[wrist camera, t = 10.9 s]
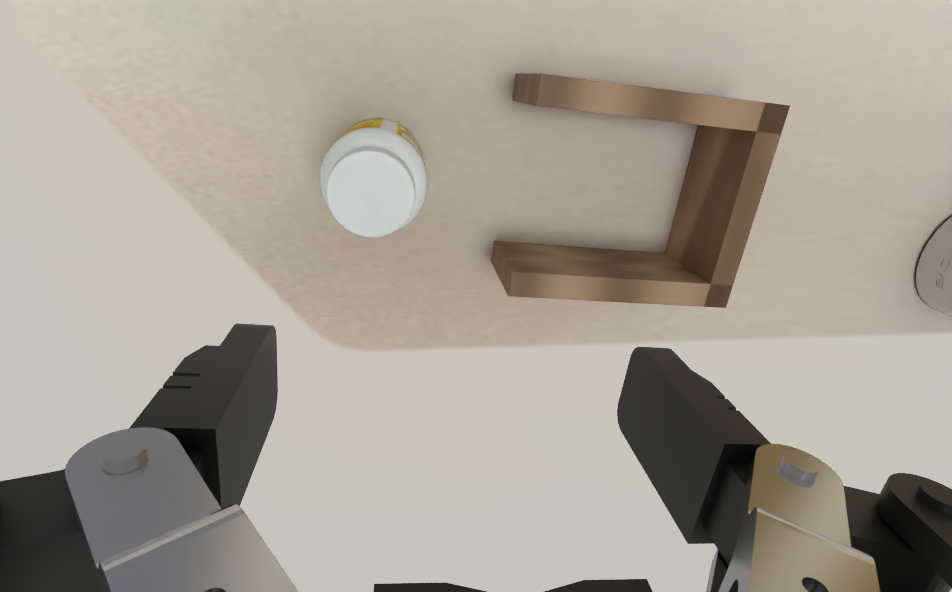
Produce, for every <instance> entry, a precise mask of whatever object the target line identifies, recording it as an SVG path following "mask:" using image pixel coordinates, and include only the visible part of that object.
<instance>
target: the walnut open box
mask: <svg viewBox="0 0 952 592" xmlns="http://www.w3.org/2000/svg"><path fill="white" fill-rule="evenodd" d="M513 100H514V101H519V102H523V103H527V104H531V105H535V106H543V107H551V108H560V109H568V110H577V111H585V112H594V113H602V114H611V115H619V116H628V117H636V118H645V119H653V120H662V121H670V122H679V123H688V124H696V125H698V129H697V133H696V136H695V140H694V144H693V148H692V152H691V156H690V160H689V163H688V167H687V171H686V175H685V179H684V183H683V186H682V190H681V194H680V198H679V202H678V206H677V209H676V213H675V217H674V221H673V225H672V229H671V233H670V236H669V240H668V244H667V248H666V252H665V253H653V252H638V251H624V250H610V249H596V248H582V247H568V246H554V245H540V244H526V243H512V242H498V241H494V247H493V255H492V264H493V266H494V268H495V270H496V272H497V274H498V276H499V278H500V280H501V282H502V284H503V286H504V288H505V290H506V292H507V294H508V296H516V297H534V298H553V299H572V300H591V301H610V302H628V303H647V304H666V305H685V306H704V307H722V308H726V305H727V302H728V299H729V295H730V292H731V289H732V286H733V283H734V280H735V277H736V273H737V270H738V267H739V264H740V261H741V258H742V255H743V252H744V248H745V245H746V242H747V239H748V236H749V233H750V230H751V226H752V223H753V220H754V217H755V214H756V211H757V208H758V204H759V201H760V198H761V195H762V192H763V189H764V186H765V182H766V179H767V176H768V173H769V170H770V167H771V164H772V160H773V157H774V154H775V151H776V148H777V145H778V142H779V138H780V135H781V132H782V129H783V126H784V123H785V120H786V117H787V113H788V110H789V107H790V106H788V105H780V104H772V103H764V102H756V101H749V100H741V99H733V98H725V97H717V96H710V95H702V94H694V93H686V92H678V91H671V90H663V89H655V88H647V87H639V86H632V85H624V84H616V83H608V82H600V81H593V80H585V79H577V78H569V77H561V76H554V75H546V74H516V80H515V87H514V95H513Z"/></svg>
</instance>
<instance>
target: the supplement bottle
mask: <svg viewBox="0 0 952 592" xmlns="http://www.w3.org/2000/svg"><path fill="white" fill-rule="evenodd" d="M320 187H321V192H322V196H323V199H324V201H325V203H326V205H327V207H328V208H329V210H330V211H331V213H332V214H333V216H334V217H335V219H336V220H337V221H338V222H339V223H340V224H341V225H342V226H343V227H344V228H346V229H347V230H349V231H350V232H352V233H354V234H357V235H360V236H364V237H381V236H385V235H388V234H390V233H393V232H395V231H397V230H399V229H401V228H403V227H404V226H406V225H407V224H409V223H410V222H411V221H412V220H413V219H414V218H415V217H416V216H417V214H418V213H419V211H420V210H421V208H422V206H423V204H424V201H425V198H426V194H427V187H428V181H427V172H426V168H425V164H424V159H423V155H422V152H421V149H420V147H419V145H418V143H417V141H416V139H415V138H414V137H413V135H412V134H411V133H410V132H409V131H408V130H407V129H406V128H404V127H403V126H401V125H400V124H398V123H396V122H393V121H391V120H387V119H368V120H364V121H362V122H359V123H357V124H355V125H354V126H352V127H351V128H350V129H348V130H347V131H346V132H345V133H344V134H343V135H342V136H341V137H340V138H339V139H338V140H337V141H336V142H335V143H334V144H333V145H332V146H331V148H330V149H329V150H328V152H327V154H326V155H325V157H324V160H323V162H322V166H321V171H320Z"/></svg>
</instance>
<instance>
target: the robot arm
mask: <svg viewBox="0 0 952 592" xmlns="http://www.w3.org/2000/svg"><path fill="white" fill-rule="evenodd" d="M916 285H917V289H918V292H919V295H920V297H921V298H922V299H923V301H924V302H925V303H926V304H928V305H929V306H931V307H932V308H934V309H937V310H939V311H941V312H943V313H946V314H948V315H950V316H952V217H951V218H949V219H948V220H947V221H946V222H945V223H944V224H943V225H942V226H941V227H940V228H939V229H938V230H937V231H936V232H935V234H934V235H933V236H932V238H931V239H930V240H929V242H928V243H927V245H926V247H925V249H924V251H923V252H922V255H921V258H920V260H919V263H918V267H917V273H916ZM277 389H278V388H277V346H276V330H275V327H274V326H269V325H252V324H235V325H234V326H233V328H232V329H231V331H230V332H229V333H228V335H227V336H226V338H225V339H224V341H223V342H222V344H221V345H220V346H204V347H202V348H200V349H199V350H197V351H195V352H194V353H192V354H190V355H189V356H187V357H185V358H184V359H183V361H182V362H181V363H180V364H179V366H178V367H177V368H176V370H175V371H174V372H173V376H170V377H169V378H168V380H167V381H166V382H165V383H164V385H163V389H160V390H159V391H158V392H157V394H156V395H155V396H154V398H153V399H152V400H151V401H150V403H149V404H148V405H147V406H146V408H145V409H144V410H143V412H142V413H141V414H140V415H139V417H138V418H137V419H136V421H135V422H134V423H133V424H132V426H131V427H130V428H129V429H124V430H120V431H116V432H112V433H109V434H107V435H104V436H101V437H99V438H97V439H95V440H93V441H91V442H89V443H88V444H86V445H84V446H83V447H82V448H80V449H79V450H78V451H77V452H76V453H75V454H73V456H72V457H71V458H70V460H69V461H68V463H67V465H66V468H65V469H64V470H61V471H55V472H50V473H45V474H39V475H34V476H28V477H23V478H17V479H12V480H6V481H0V592H298V591H297V589H296V588H295V586H294V585H293V583H292V582H291V580H290V579H289V577H288V576H287V575H286V573H285V571H284V570H283V568H282V567H281V565H280V564H279V562H278V561H277V560H276V558H275V557H274V555H273V554H272V552H271V551H270V549H269V548H268V546H267V545H266V543H265V542H264V540H263V539H262V537H261V536H260V534H259V533H258V531H257V530H256V529H255V527H254V525H253V524H252V522H251V521H250V519H249V518H248V517H247V515H246V514H245V512H244V511H243V510H242V508H241V507H240V504H241V501H242V498H243V496H244V493H245V491H246V488H247V486H248V483H249V481H250V478H251V475H252V473H253V470H254V468H255V465H256V463H257V460H258V457H259V455H260V452H261V450H262V447H263V445H264V442H265V439H266V437H267V434H268V431H269V429H270V426H271V424H272V421H273V419H274V415H275V410H276V404H277V392H278V390H277ZM617 413H618V415H617V416H618V423H619V427H620V430H621V432H622V433H623V435H624V437H625V438H626V440H627V441H628V443H629V445H630V447H631V448H632V450H633V452H634V454H635V455H636V457H637V459H638V460H639V462H640V464H641V465H642V466H643V469H644V470H645V472H646V474H647V475H648V477H649V479H650V480H651V482H652V484H653V486H654V487H655V489H656V491H657V492H658V494H659V496H660V497H661V499H662V501H663V502H664V504H665V506H666V507H667V509H668V511H669V512H670V514H671V516H672V518H673V519H674V521H675V523H676V524H677V526H678V528H679V529H680V531H681V533H682V534H683V536H684V538H685V539H686V541H687V543H688V544H693V543H694V544H696V543H697V544H698V543H714V544H715V545H716V546H717V551H716V554H715V556H714V559H713V561H712V565H711V570H710V575H709V580H708V585H707V590H706V592H949V591H950V590H951V588H952V489H950V488H948V487H946V486H944V485H942V484H940V483H937V482H935V481H932V480H930V479H927V478H924V477H921V476H917V475H913V474H906V473H897V474H893V475H891V476H890V477H889V478H888V480H887V482H886V484H885V485H884V488H883V489H882V491H881V493H880V494H876V493H872V492H867V491H863V490H859V489H855V488H851V487H846V486H843V483H842V481H841V479H840V477H839V476H838V475H837V474H836V473H835V472H834V471H833V470H832V469H831V468H830V467H829V466H828V465H827V464H825V463H824V462H822V461H821V460H819V459H818V458H816V457H814V456H812V455H810V454H808V453H806V452H804V451H801V450H799V449H796V448H793V447H790V446H786V445H781V444H771V443H770V442H769V441H768V440H767V439H766V438H765V437H764V436H763V435H762V434H761V433H760V432H759V431H758V430H757V429H756V428H755V427H754V426H753V425H752V424H751V423H750V422H749V421H748V420H747V419H746V418H745V417H744V416H743V415H742V414H741V413H740V412H739V411H736V408H735V406H733V405H732V404H731V402H730V401H729V400H728V399H725V397H724V395H723V394H722V393H721V392H720V391H719V390H718V389H717V388H716V387H715V386H714V385H713V384H712V383H711V382H709V381H708V380H706V379H705V378H703V377H701V376H700V375H698V374H697V373H695V372H693V371H692V370H690V368H689V367H688V366H687V365H686V364H685V363H684V362H683V361H682V360H681V359H680V358H679V357H678V356H677V355H676V354H675V353H674V352H673V351H672V350H671V349H668V348H652V347H637V348H635V349H634V351H633V352H632V355H631V358H630V361H629V365H628V369H627V373H626V376H625V380H624V384H623V388H622V391H621V396H620V399H619V403H618V410H617ZM374 592H486V591H481V590H476V589H472V588H467V587H463V586H458V585H453V584H449V583H403V584H374ZM545 592H652V590H651V587H650V585H649V583H648V581H647V579H629V580H628V579H627V580H583V581H580V582H576V583H573V584H569V585H566V586H562V587H559V588H555V589H552V590H549V591H545Z"/></svg>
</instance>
